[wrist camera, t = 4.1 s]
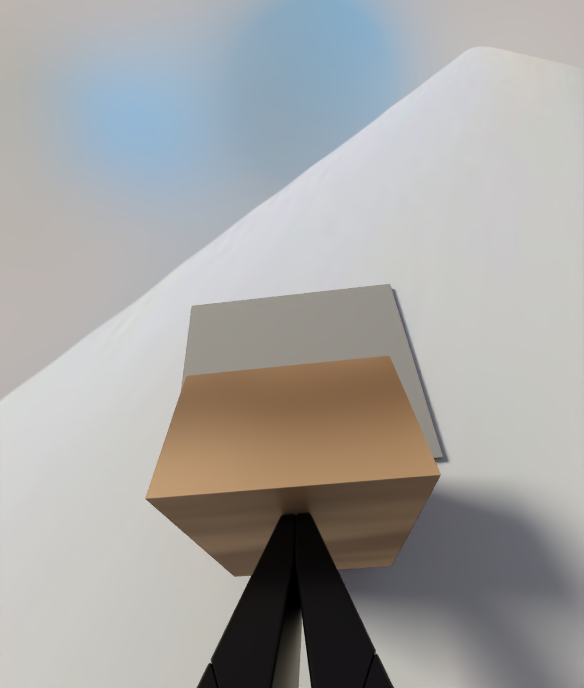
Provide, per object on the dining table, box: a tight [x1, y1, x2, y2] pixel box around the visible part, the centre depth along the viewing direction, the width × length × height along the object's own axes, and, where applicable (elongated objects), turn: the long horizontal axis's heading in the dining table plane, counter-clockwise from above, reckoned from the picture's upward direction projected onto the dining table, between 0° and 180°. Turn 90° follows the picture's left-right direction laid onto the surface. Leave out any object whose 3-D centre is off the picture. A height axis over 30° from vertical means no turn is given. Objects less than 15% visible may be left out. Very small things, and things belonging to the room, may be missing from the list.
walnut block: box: [145, 356, 441, 577], centre depth 11 cm, size 4×7×9 cm, turn 95°
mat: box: [181, 284, 443, 458], centre depth 18 cm, size 12×15×1 cm
